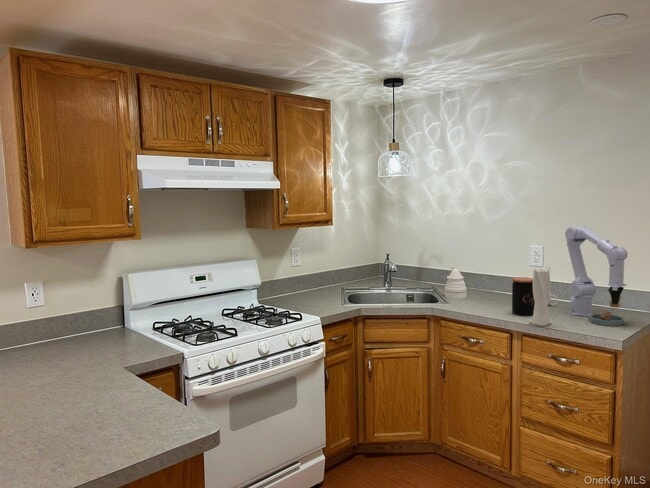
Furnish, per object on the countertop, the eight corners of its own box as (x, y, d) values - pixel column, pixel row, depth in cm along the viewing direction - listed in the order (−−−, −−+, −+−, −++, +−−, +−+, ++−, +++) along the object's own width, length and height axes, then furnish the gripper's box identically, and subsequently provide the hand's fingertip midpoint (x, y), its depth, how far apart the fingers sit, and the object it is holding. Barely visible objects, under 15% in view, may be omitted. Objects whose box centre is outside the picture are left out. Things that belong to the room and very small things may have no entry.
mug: (531, 305, 273) (531, 291, 273) (537, 302, 279) (537, 288, 279) (554, 308, 265) (554, 293, 264) (560, 305, 271) (560, 291, 270)
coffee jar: (524, 317, 248) (524, 281, 246) (507, 313, 257) (507, 278, 255) (539, 314, 253) (539, 279, 251) (522, 310, 262) (522, 276, 260)
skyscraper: (554, 324, 232) (555, 265, 230) (544, 327, 228) (545, 266, 225) (537, 321, 239) (538, 263, 236) (527, 324, 234) (528, 265, 232)
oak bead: (610, 307, 231) (610, 296, 230) (610, 305, 234) (610, 294, 234) (620, 307, 229) (620, 297, 228) (620, 305, 232) (620, 295, 232)
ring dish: (587, 323, 232) (587, 318, 232) (591, 317, 244) (591, 312, 244) (622, 327, 224) (622, 322, 224) (624, 320, 236) (624, 315, 236)
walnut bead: (600, 323, 231) (600, 312, 230) (601, 321, 234) (601, 310, 233) (610, 324, 228) (610, 313, 228) (611, 322, 232) (611, 311, 231)
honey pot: (441, 297, 301) (441, 267, 299) (449, 293, 311) (449, 264, 310) (462, 299, 293) (462, 268, 292) (469, 295, 304) (469, 266, 302)
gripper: (625, 277, 222) (624, 307, 223) (627, 272, 234) (626, 301, 235) (607, 276, 226) (606, 305, 227) (610, 271, 238) (609, 299, 239)
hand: (615, 303), depth 231 cm, fingers closed on oak bead, 4 cm apart
